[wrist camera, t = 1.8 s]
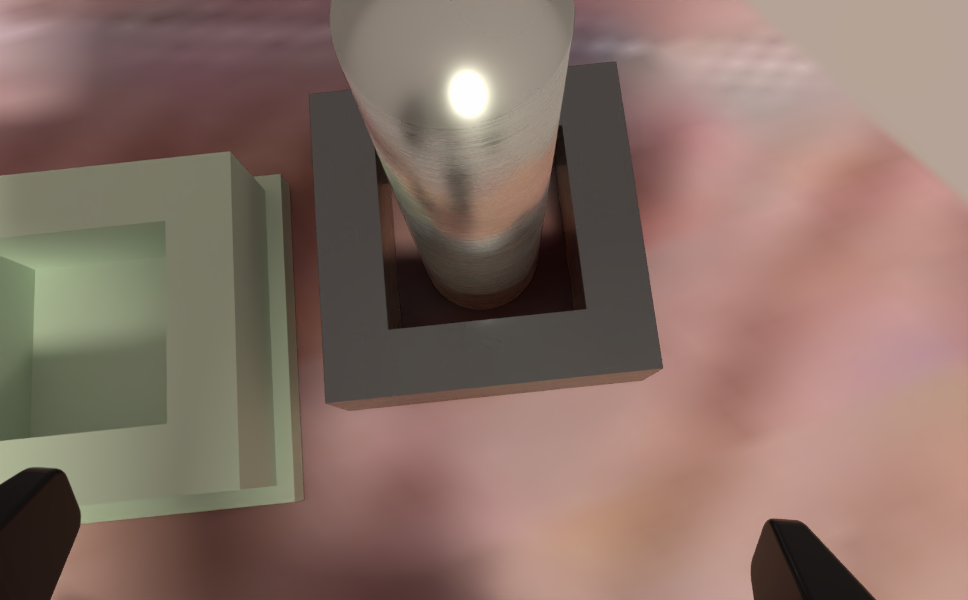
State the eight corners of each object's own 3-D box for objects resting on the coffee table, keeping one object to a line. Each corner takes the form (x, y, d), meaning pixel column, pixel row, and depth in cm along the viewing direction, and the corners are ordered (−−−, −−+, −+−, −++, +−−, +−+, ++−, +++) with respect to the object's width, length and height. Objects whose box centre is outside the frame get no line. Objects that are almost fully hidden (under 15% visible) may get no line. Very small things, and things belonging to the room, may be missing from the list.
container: (304, 500, 22) (260, 508, 18) (-28, 534, 22) (-142, 550, 18) (289, 185, 24) (247, 132, 20) (-14, 217, 24) (-113, 170, 20)
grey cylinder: (544, 303, 23) (590, 110, 10) (429, 315, 23) (337, 138, 10) (530, 195, 24) (558, -107, 11) (420, 206, 24) (322, -82, 11)
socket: (642, 380, 23) (663, 368, 20) (349, 411, 23) (325, 403, 20) (602, 109, 24) (616, 61, 22) (332, 138, 25) (308, 94, 22)
